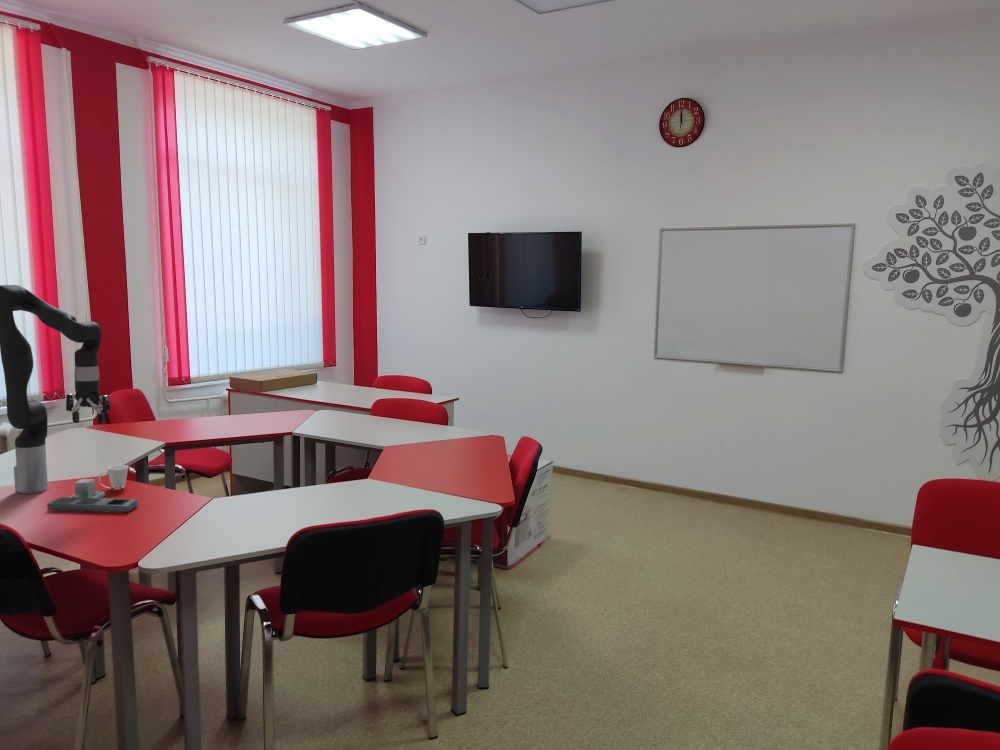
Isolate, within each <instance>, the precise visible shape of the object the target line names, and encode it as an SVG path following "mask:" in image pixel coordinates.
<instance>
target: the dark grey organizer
mask: <svg viewBox="0 0 1000 750" xmlns="http://www.w3.org/2000/svg"><path fill="white" fill-rule="evenodd" d="M46 504H47V511H48V510H53V511H52V512H55V511H57V512H79V511H110V512H109V513H113V512H128V513H130V512H131V511H133V510H134V509H136V508H138V506H139V502H138V498H135V499H134V498H109V497H108V498H107V497H103V498H78V497H70V496H59V497H57V498H55V499H53V500H52V501H51V500H50V501H49V502H47V503H46ZM135 507H136V508H135ZM133 508H134V509H133ZM132 509H133V510H132ZM61 510H62V511H61ZM65 510H66V511H65ZM130 510H131V511H130ZM129 511H130V512H129Z"/></svg>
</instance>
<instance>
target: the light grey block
mask: <svg viewBox="0 0 1000 750" xmlns="http://www.w3.org/2000/svg"><path fill="white" fill-rule="evenodd" d="M95 492H96V481H95V479H94V478H91V479H89V478H88V479H87V478H82V479H79V480H77V481H76V482H74V494H75V497H78V498H93V497H95Z"/></svg>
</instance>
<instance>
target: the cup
mask: <svg viewBox="0 0 1000 750" xmlns="http://www.w3.org/2000/svg"><path fill="white" fill-rule="evenodd" d="M128 469H129V465H127V464H126V465H125V464H115V465H110V466H108V467H107V470H105V471H102V472H101V473H100V474H99V476H98V483H99V484H100V486H102V487H103V488H106V489H107V490H112V489H111V488H114V489H113V490H115V489H116V490H122V489H121V488H123V489H125V488H126V482H127V478H128ZM103 474H108V477H109V483H110V484H111V487H108V486H107V485H104V484H102V483H101V477H102V475H103ZM120 486H122V487H121V488H119V487H120ZM115 487H116V488H115ZM124 487H125V488H124Z"/></svg>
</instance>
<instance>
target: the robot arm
mask: <svg viewBox="0 0 1000 750" xmlns="http://www.w3.org/2000/svg"><path fill="white" fill-rule="evenodd" d="M18 311H24V312H27V313H30V314H33V315H35V316H36V317H37V318H38V319H39V321H40V322H41V323H42V324H43V325H46V326H47V327H49V328H51V329H53V330H55V331H58V332H60V333H61V334H62V335H63V336H65V337H66V338H67V339H69V340H70V341H72V342H74V343H80V344H82V345H81V347H80V348H78V349H76V350H75V351H74V373H73V375H74V391H75V394H74V393H73V392H72V393H68V394H66V397H65V398H66V399H65V402H66V403H65V410H66V412H70V413H71V416H72V422H73V424H78V423H80V412H79V411H80V410H81V408H86V407H87V408H93V410H95V411H96V412H97V424H98V425H103V424H104V423H105V414H106V413H109V412H110V411H111V405H110V404H111V403H110V396H109V394H106V395H101V394H100V391H101V390H100V386H101V385H100V371H99V370H100V369H99V359H98V355H99V351H100V346H101V342H102V336H103V333H102V332H103V331H102V328H101V327H100V325H99V323H97V322H95V321H84V322H83V321H82V322H81V321H80V322H79V321H77V319H76V317H75V316H74V315H73V314H71V313H69V312H66V311H63V310H62V309H60V308H58V307H55V306H53V305H52V304H49V303H48V302H47V301H45V300H43V299H41V298H40V297H39V296H37V295H36V294H35V293H33V292H31V291H30V290H29V289H27V288H25V287H24V286H21V285H18V284H4V285H3V284H2V285H1V284H0V359H1V363H2V368H3V373H4V374H3V375H4V382H5V391H6V415H7V416H6V417H7V419H8V422H9V423H10V426H12V427H13V428H14V429H17V430H21V432H20V433H19V435H18V436H16V438H15V439H14V449H15V450H14V451H15V463H16V465H15V466H14V467H13V477H14V478H13V479H14V492H15V493H19V494H22V495H23V494H24V495H28V494H30V495H31V494H38V493H42V492H45V491H47V490H48V489H49V483H48V482H49V481H48V466H47V465H48V464H47V463H48V461H47V449H46V448H47V447H46V438H47V437H48V411H47V408H46V406H45V404H43V403H42V402H41V401H39V400H29V399H28V387H29V385H28V384H29V382H30V379H31V377H32V374H33V370H34V369H33V368H34V357H33V352H32V351H33V350H32V347H31V345H30V343H29V341H28V340H27V338H26V337H25V336H24V335H23V333H22V332H21V331H20V330H19V328H18V327H17V323H16V321H15V316H14V312H18ZM74 400H76V403H75V401H74ZM100 401H101V402H100ZM74 403H75V404H74Z"/></svg>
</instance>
